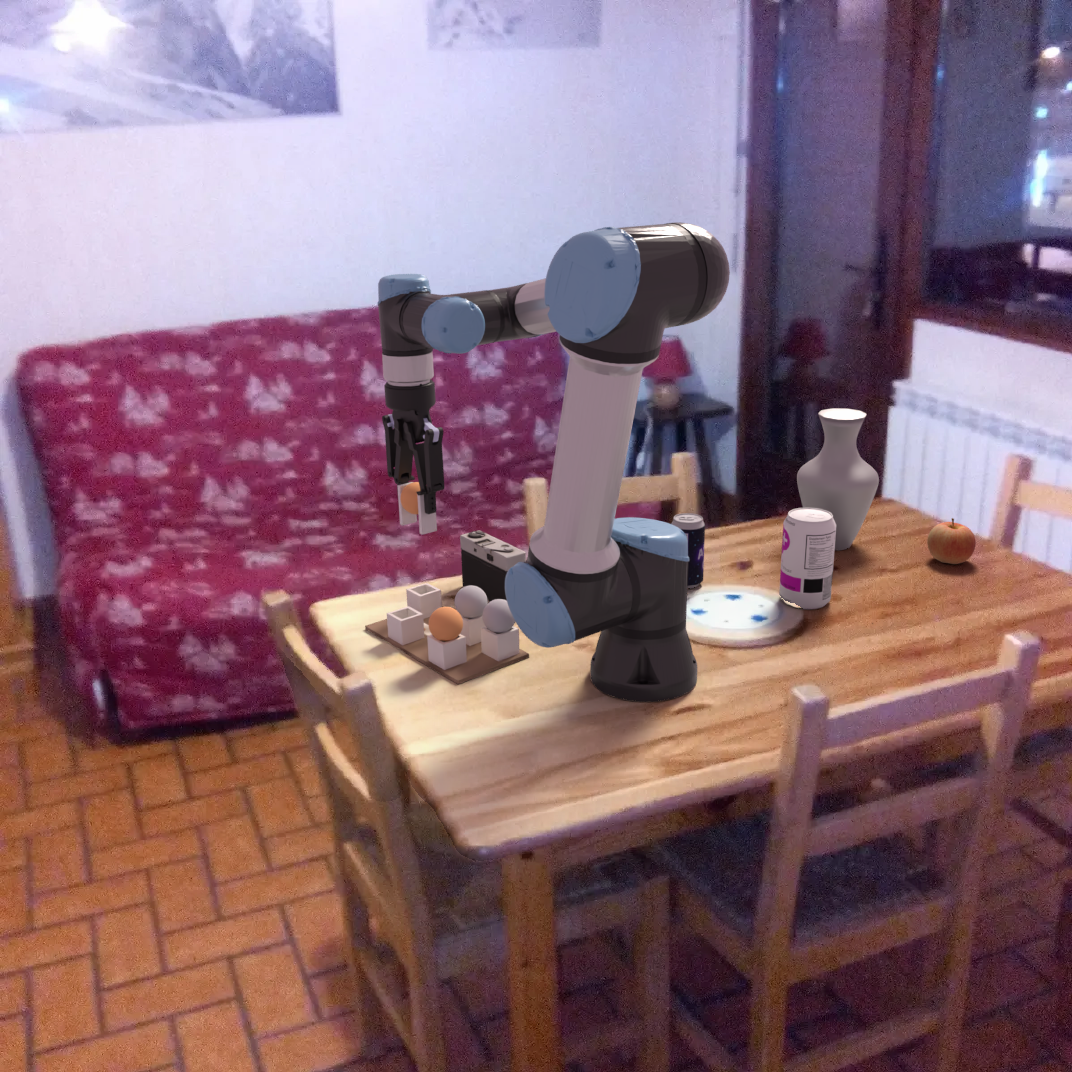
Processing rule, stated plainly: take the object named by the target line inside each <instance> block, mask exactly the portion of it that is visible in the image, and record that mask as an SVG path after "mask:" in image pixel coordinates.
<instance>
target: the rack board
mask: <svg viewBox="0 0 1072 1072" xmlns="http://www.w3.org/2000/svg"><path fill="white" fill-rule="evenodd" d="M429 618H430V617H428V618H425V619H423V621H424V638H423V639H420V640H417V641H414V642H411V643H408V644H405V645H401V644H399V643H398V642H396V641H394V640H393V639H391V638H389V637H388V625H387V618H385V619H381V620H379V621H376V622H373V623H369V624H367V625H365V626H364V627H365V629H364V630H366V631H368V632H370V633H371V634H372V635H374V636H376V637H378V639H381V640H383V641H385V642H386V643H388V644H389V645H391V646H392V647H394V648H396V649H397V650H400V651H401V652H403V653H405V654H406V655H408V656H410V657H411V658H412V659H414V660H416V661H418V662H420V663H422V664H423V665H425V666H426V667H428V668H430V669H431V670H433V671H434V672H437V673H438V674H440V675H441V676H443V677H444V678H446V679H448V680H450V681H451V682H454V684H457V685H460V684H463V683H465V682H467V681H471V680H472V679H476V678H479V677H481V676H484V675H486V674H489V673H491V672H494V671H497V670H500V669H501V668H504V667H507V666H511V665H512V664H515V663H517V662H520V661H523V660H526V659H529V658H530V653H529V652H527V651H525V650H523V649H521V648H519V652H520V653H519V654H517V655H514V656H511V657H509V658H506V659H503V660H501V661H497V660H495V659H493V658H491V657H489V656H487V655H486V654H484V653H482V645H481V642H479V643H477V644H474V645H471V646H469V645H467V644H466V655H467V662H465V663H462V664H459V665H457V666H454V667H451V668H448V669H446V670H444V669H442V668H440V667H439V666H437V665H435V664H433V663H432V662H430V661H429V656H428V639H427V636H429V635H432V634H431V632H430V630H429Z"/></svg>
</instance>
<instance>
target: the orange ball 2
mask: <svg viewBox="0 0 1072 1072" xmlns="http://www.w3.org/2000/svg"><path fill="white" fill-rule="evenodd" d="M462 628H463V619H462V617H461V615H460V613H459V612H458V611H457V610H456V608H453V607H451V606H442V607H441V608H438V609H436V610H435V611H434V612H433V613H432V614H431V616H430V618H429V630H430V632H431V634H432V635H433V636H434V637H435V638H436V639H438V640H441V641H450V640H453V639H455V638H456V637H458V636H459V634H460V633H461V631H462Z"/></svg>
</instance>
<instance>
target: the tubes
mask: <svg viewBox="0 0 1072 1072" xmlns="http://www.w3.org/2000/svg"><path fill="white" fill-rule="evenodd" d="M405 591H406V604H407V605H406V606H405V607H402V608H398V609H395V610H393V611H388V612H386V619H387V625H388V637H389V638H391V639H393V640H394V641H396V642H398V643H399V644H401V645H405V644H408V643H411V642H414V641H417V640H420V639H423V638H424V621H423V619H425V618H428V617H430V616H431V614H432V613H433V612H434V611H435V610H436V609H438V608H441V607H443V606H442V605H443V603H442V602H443V601H442V590H441V589H440V588H438V587H436V586H435V585H432V584H430V583H428V582H426V583H422V584H419V585H416V586H411V587H409V588H406V589H405ZM461 617H462V619H463V628H462V631H461V633H460V634H459V636H458V637H456V638H455V639H453V640H450V641H441V640H438V639H436V638H435V637H434V636H433V635H429V636H427V639H428V656H429V661H430V662H432V663H433V664H435V665H437V666H439V667H440V668H442V669H444V670H446V669H448V668H451V667H454V666H457V665H459V664H462V663H465V662H467V655H466V644H467V645H469V646H471V645H474V644H477V643H479V642H481V645H482V653H484V654H486V655H487V656H489V657H491V658H493V659H495V660H497V661H501V660H503V659H506V658H509V657H511V656H514V655H517V654H519V653H520V652H519V649H520V628H519V627H516V626H515V625H513V627H512V628H511V629H510V630H508V631H506V632H504V633H495V632H492V631H490V630H489V629H488V628H487V627H486V626H485V624H484V622H483V618H482V615H481V616H479V617H476V618H472V619H471V618H465V617H463V616H462V615H461Z"/></svg>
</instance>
